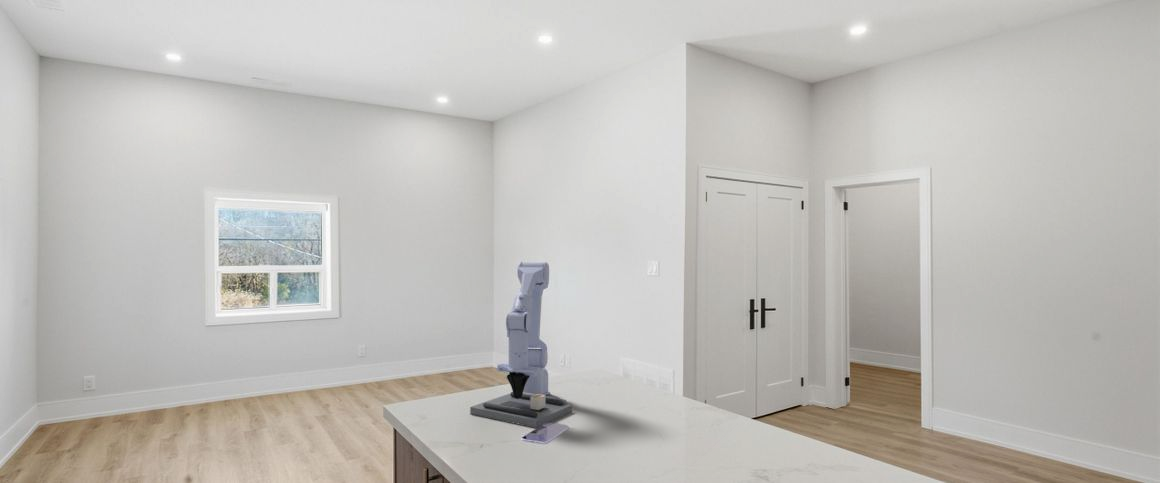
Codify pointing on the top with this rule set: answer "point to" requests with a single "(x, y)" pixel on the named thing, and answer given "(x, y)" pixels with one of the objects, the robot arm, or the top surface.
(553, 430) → the mobile phone
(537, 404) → the white orange striped block
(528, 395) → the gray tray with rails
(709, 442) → the top surface
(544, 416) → the panel
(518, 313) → the robot arm
